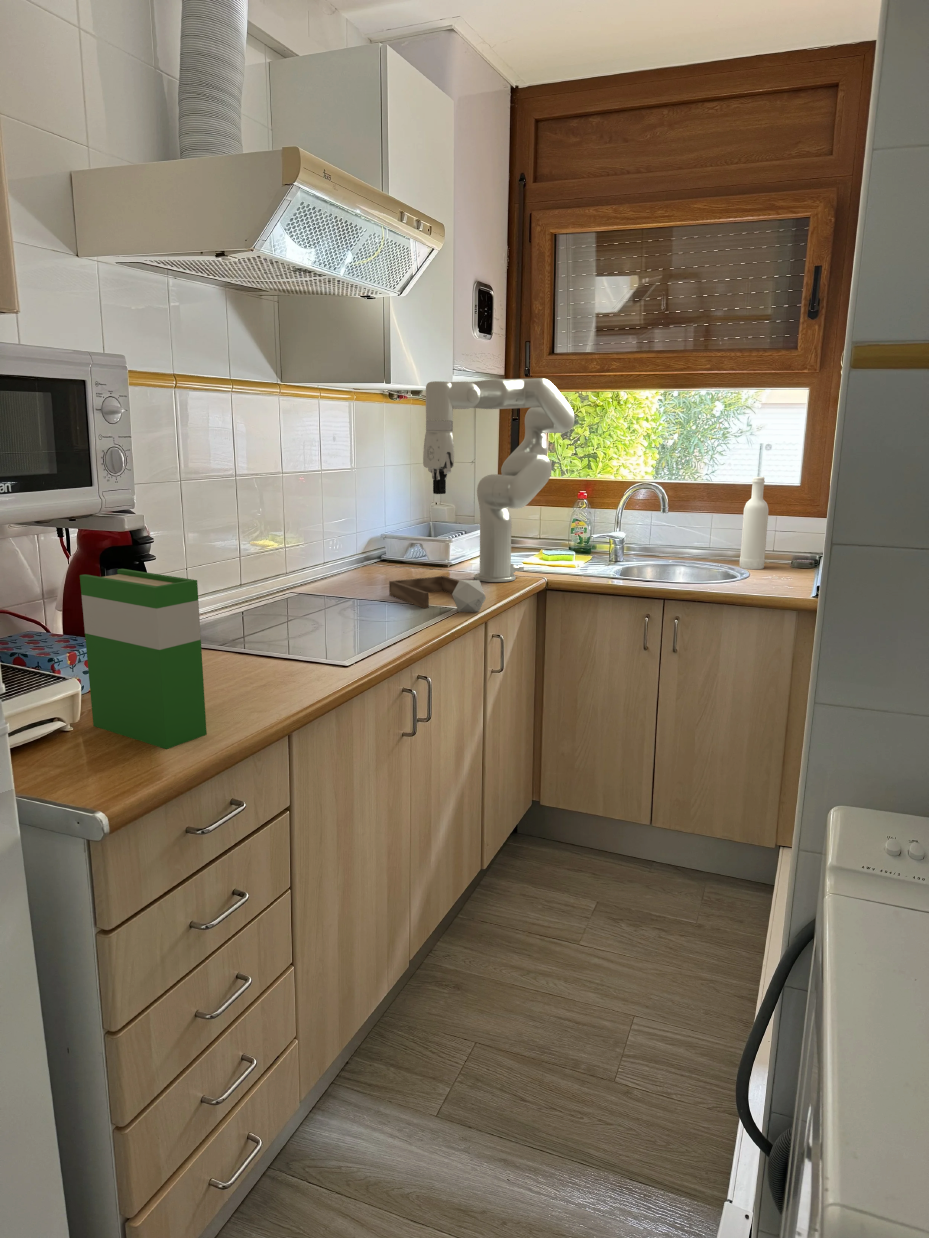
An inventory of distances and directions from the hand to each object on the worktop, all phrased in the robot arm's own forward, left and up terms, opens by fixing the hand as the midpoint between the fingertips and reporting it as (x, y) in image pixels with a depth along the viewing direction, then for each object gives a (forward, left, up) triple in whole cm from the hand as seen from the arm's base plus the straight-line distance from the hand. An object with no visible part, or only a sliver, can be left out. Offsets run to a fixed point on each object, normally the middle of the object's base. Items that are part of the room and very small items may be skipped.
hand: (439, 493), depth 248 cm
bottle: (-109, +20, -27) cm, 114 cm away
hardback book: (+99, +81, -27) cm, 131 cm away
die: (+9, +31, -27) cm, 42 cm away
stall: (+9, +13, -27) cm, 31 cm away
